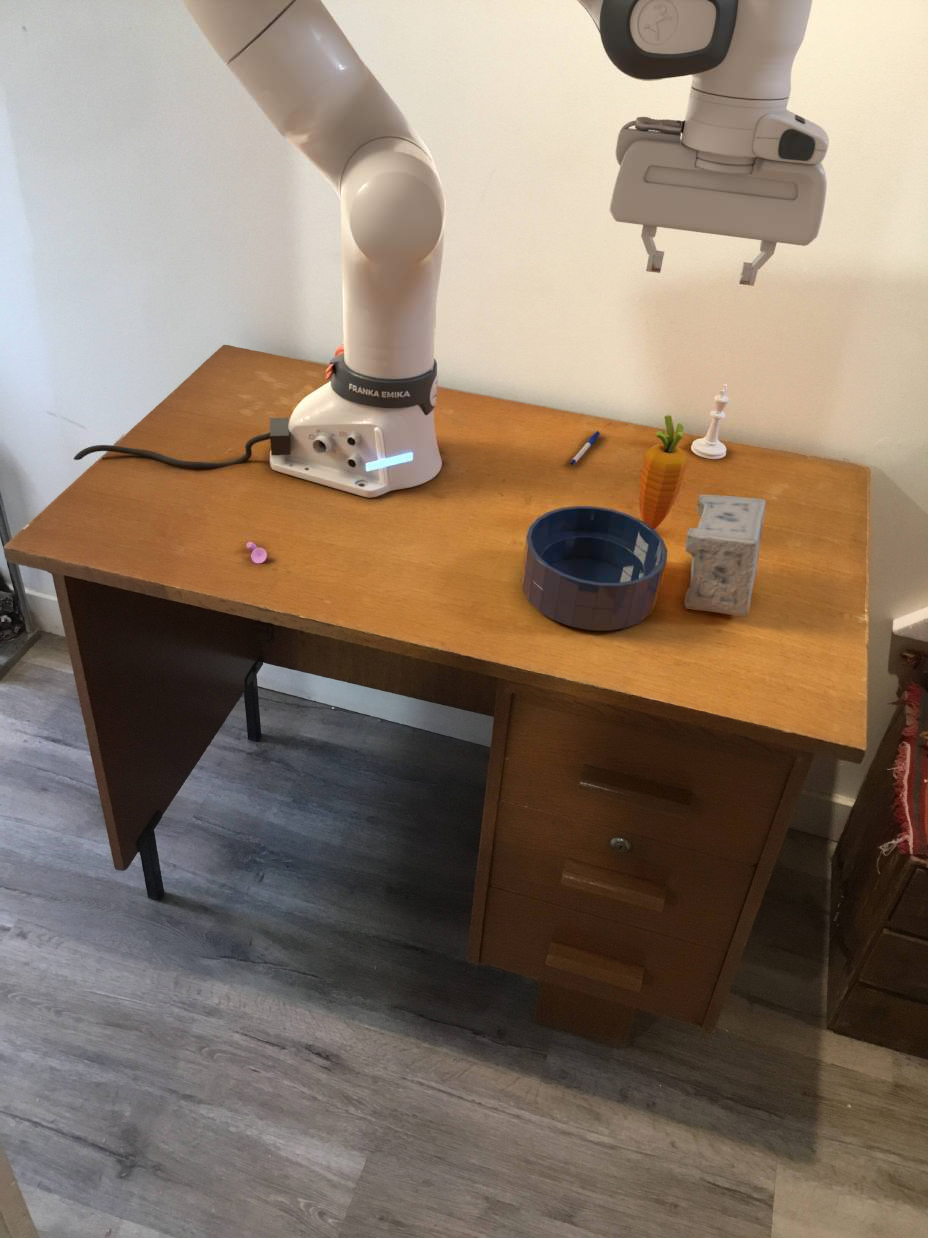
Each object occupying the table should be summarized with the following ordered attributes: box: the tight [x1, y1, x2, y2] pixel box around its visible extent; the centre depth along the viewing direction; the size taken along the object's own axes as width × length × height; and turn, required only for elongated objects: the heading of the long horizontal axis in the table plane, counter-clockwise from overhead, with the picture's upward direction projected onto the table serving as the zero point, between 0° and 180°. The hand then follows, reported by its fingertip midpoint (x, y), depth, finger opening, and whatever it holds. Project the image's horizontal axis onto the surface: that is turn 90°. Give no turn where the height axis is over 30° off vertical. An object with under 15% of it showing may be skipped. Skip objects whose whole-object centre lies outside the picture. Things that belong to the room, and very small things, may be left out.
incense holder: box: [684, 493, 767, 617], centre depth 99 cm, size 10×8×10 cm
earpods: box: [246, 541, 268, 564], centre depth 102 cm, size 3×2×2 cm
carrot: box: [638, 414, 689, 531], centre depth 107 cm, size 5×5×15 cm
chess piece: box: [690, 383, 730, 460], centre depth 126 cm, size 5×5×10 cm
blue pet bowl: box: [520, 505, 668, 632], centre depth 99 cm, size 15×15×6 cm
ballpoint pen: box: [570, 430, 601, 466], centre depth 126 cm, size 10×1×1 cm, turn 155°
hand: (699, 276), depth 93 cm, fingers open, 8 cm apart
